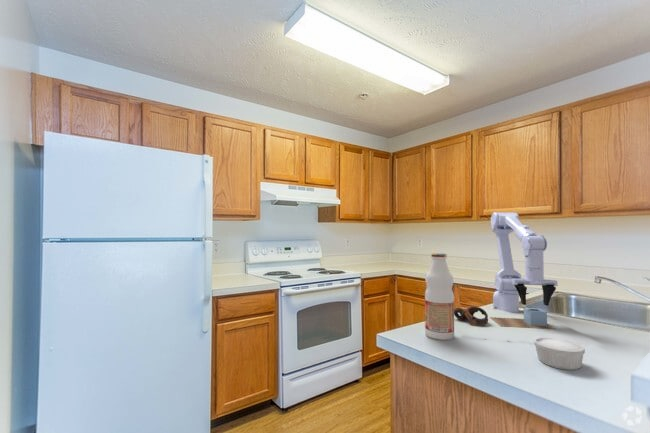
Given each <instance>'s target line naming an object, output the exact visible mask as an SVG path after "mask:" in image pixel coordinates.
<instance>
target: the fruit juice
mask: <svg viewBox="0 0 650 433" xmlns="http://www.w3.org/2000/svg"><path fill="white" fill-rule="evenodd" d="M447 256H448V255H447V253H443V252H433V253H431V258H432V260H431V264H430V267H429V269H428V272H427V273H426V274H425V279H424V280H425V284H426V289H425V292H424V327H425V328H424V331H425V335H426V336H427V337H428V338H431V339H435V340H441V341H447V340H452V339H454V337H455V315H454V310H455V294H454V292H453V285H454V277H453V274H452V273H451V271H450V269H449V267H448V263H447Z"/></svg>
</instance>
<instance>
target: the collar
mask: <svg viewBox="0 0 650 433" xmlns="http://www.w3.org/2000/svg"><path fill="white" fill-rule="evenodd" d="M523 319H524V321H525V322H526V323H528V324H529V325H531V326H547V324H548V313H547V311H546V310H543V309H541V308H533V307H523Z"/></svg>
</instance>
